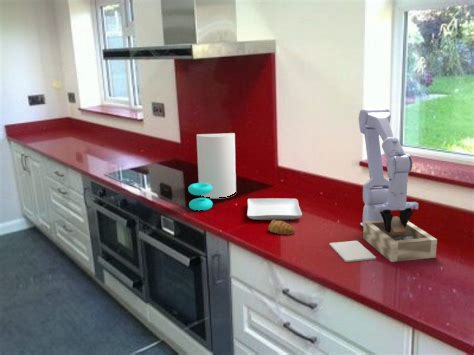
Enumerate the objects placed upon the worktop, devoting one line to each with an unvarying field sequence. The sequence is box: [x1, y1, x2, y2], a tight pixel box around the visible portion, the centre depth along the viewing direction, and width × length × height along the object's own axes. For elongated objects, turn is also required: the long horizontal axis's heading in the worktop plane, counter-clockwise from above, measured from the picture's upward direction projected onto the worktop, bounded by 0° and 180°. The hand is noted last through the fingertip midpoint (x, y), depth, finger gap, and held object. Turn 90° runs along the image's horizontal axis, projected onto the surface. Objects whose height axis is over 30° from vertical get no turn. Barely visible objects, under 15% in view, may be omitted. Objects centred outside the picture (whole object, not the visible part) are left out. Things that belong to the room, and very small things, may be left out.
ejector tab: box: [392, 234, 416, 241], centre depth 155 cm, size 14×10×2 cm
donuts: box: [187, 182, 214, 212], centre depth 200 cm, size 10×10×10 cm
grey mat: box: [328, 240, 377, 263], centre depth 154 cm, size 14×10×1 cm
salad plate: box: [246, 197, 303, 221], centre depth 192 cm, size 21×21×3 cm
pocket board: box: [362, 220, 438, 263], centre depth 156 cm, size 20×15×6 cm
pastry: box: [268, 220, 296, 236], centre depth 172 cm, size 9×7×4 cm
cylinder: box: [196, 132, 237, 199], centre depth 218 cm, size 17×17×28 cm
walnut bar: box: [390, 215, 407, 236], centre depth 157 cm, size 7×4×2 cm, turn 10°
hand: (394, 230), depth 158 cm, fingers closed on walnut bar, 4 cm apart
